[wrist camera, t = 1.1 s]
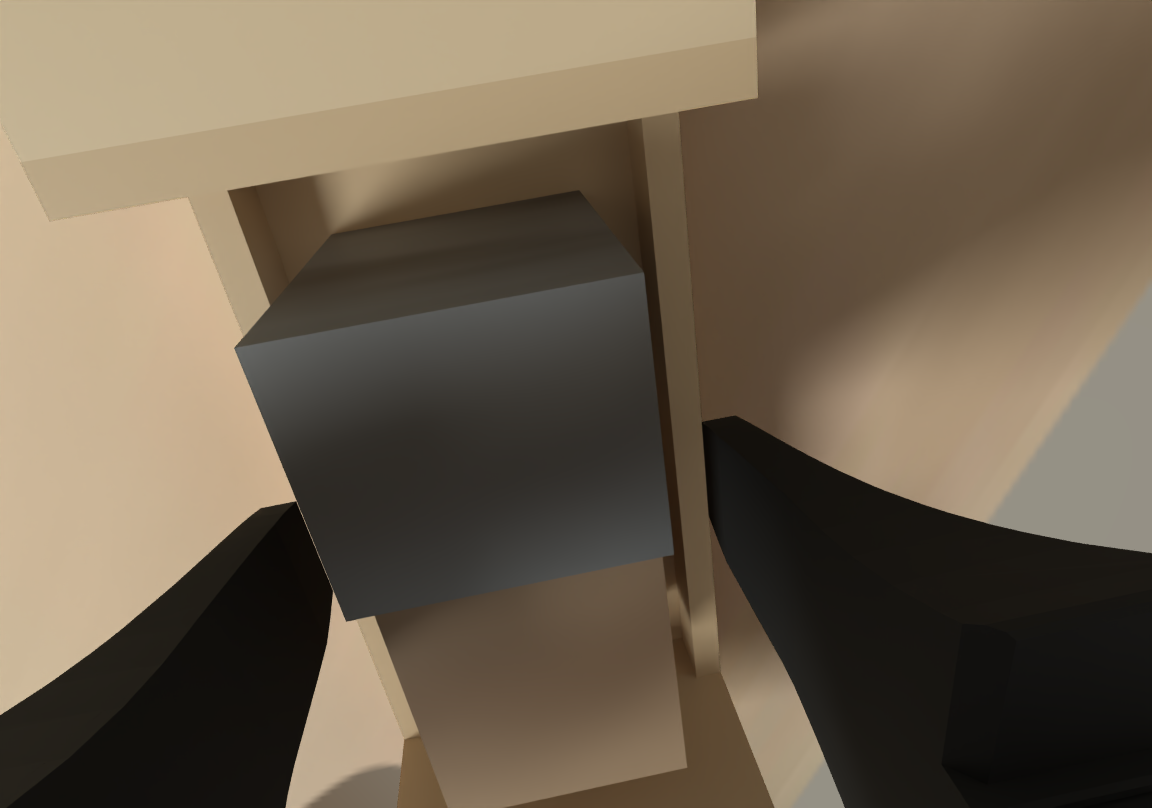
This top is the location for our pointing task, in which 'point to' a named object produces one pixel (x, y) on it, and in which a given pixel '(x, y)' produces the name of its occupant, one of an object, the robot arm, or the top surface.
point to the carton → (414, 200)
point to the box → (488, 485)
